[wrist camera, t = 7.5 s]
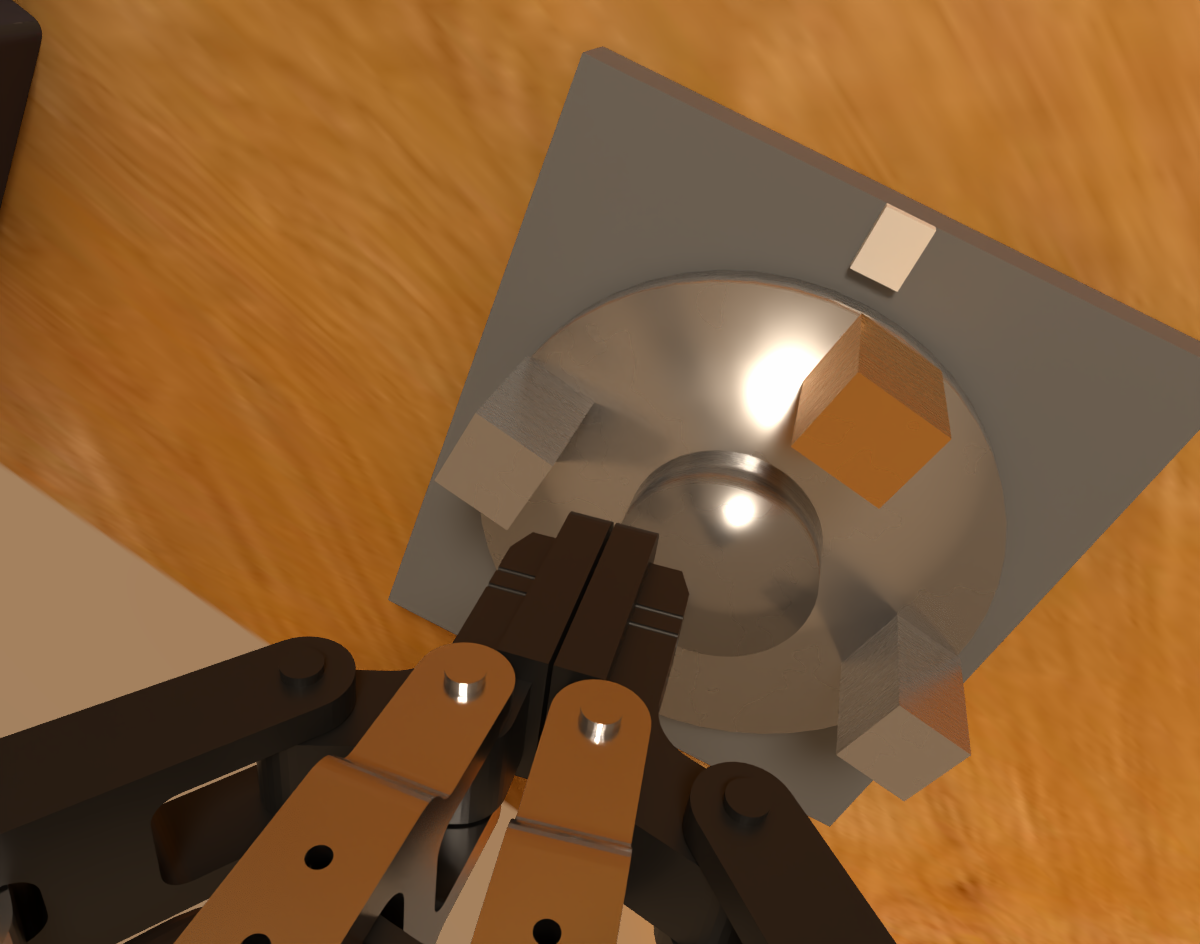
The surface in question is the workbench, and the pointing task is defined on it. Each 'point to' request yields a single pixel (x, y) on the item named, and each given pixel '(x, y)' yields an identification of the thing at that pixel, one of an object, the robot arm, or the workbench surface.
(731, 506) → the lugged metal dish
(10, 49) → the calculator
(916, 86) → the workbench surface
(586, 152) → the base plate
